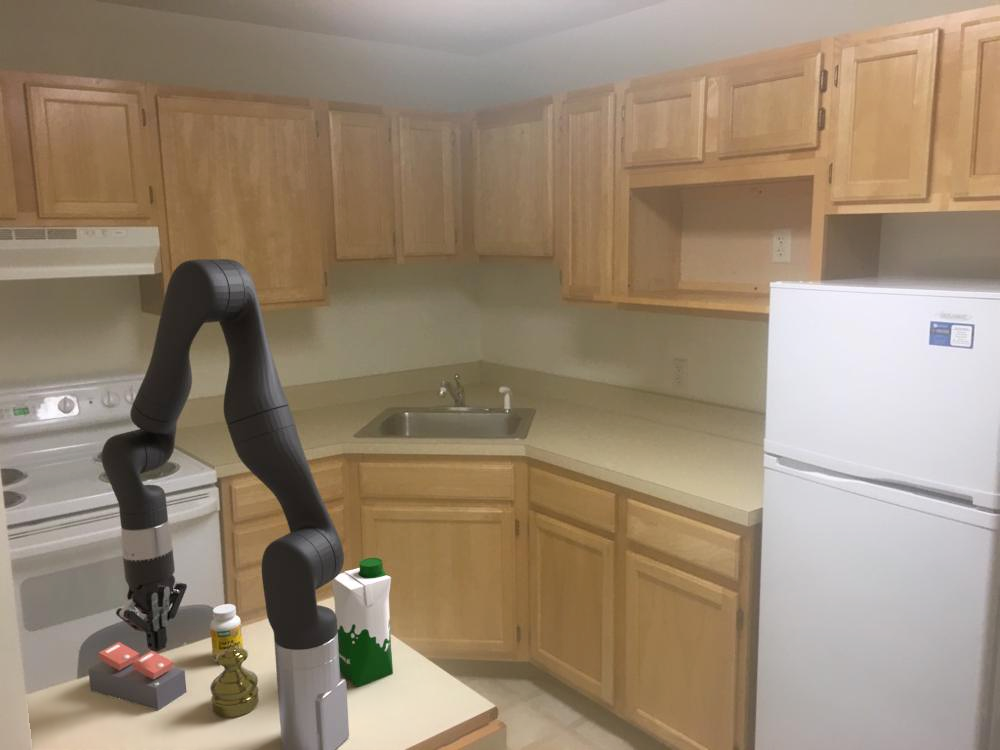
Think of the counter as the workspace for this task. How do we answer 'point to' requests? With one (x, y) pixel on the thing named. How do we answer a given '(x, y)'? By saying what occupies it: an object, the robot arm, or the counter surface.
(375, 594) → the milk carton
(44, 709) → the counter surface
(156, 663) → the near rocker
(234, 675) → the gold chess piece
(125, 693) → the switch box
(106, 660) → the far rocker
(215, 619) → the supplement bottle
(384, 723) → the counter surface
